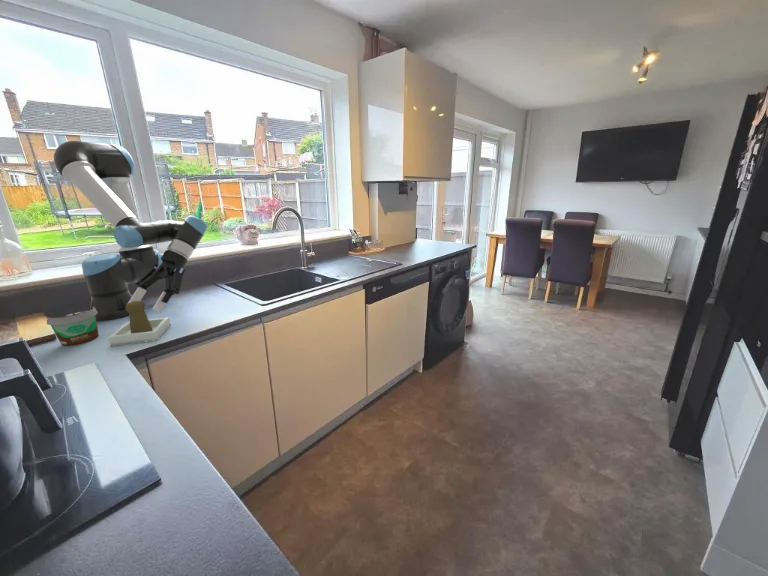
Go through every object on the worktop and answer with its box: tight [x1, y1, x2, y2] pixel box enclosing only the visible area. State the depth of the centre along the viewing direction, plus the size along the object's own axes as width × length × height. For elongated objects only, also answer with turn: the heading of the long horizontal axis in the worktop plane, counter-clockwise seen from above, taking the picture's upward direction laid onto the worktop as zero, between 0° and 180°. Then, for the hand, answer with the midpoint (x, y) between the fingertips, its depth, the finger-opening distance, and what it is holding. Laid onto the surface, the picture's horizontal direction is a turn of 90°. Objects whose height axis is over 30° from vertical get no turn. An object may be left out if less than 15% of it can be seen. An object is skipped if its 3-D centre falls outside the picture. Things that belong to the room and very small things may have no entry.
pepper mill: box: [126, 301, 153, 334], centre depth 108 cm, size 6×6×11 cm
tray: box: [107, 317, 172, 347], centre depth 109 cm, size 13×13×3 cm
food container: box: [46, 307, 100, 347], centre depth 104 cm, size 12×6×10 cm, turn 148°
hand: (143, 308), depth 108 cm, fingers open, 13 cm apart
